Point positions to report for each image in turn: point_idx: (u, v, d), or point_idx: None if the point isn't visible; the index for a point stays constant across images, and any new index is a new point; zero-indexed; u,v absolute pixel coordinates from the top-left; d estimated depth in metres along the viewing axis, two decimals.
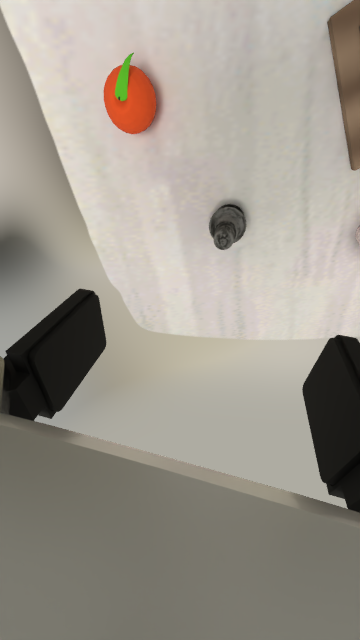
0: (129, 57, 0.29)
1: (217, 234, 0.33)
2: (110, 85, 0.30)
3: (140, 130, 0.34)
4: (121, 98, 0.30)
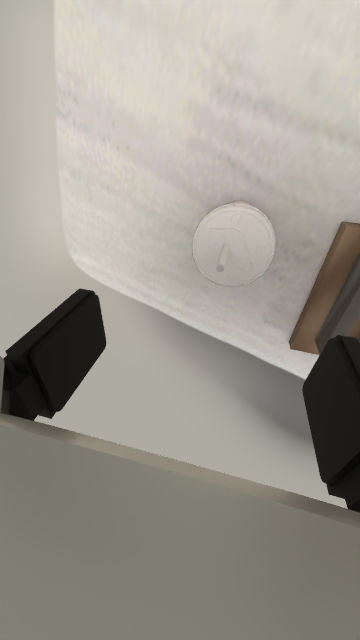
0: None
1: None
2: None
3: None
4: None
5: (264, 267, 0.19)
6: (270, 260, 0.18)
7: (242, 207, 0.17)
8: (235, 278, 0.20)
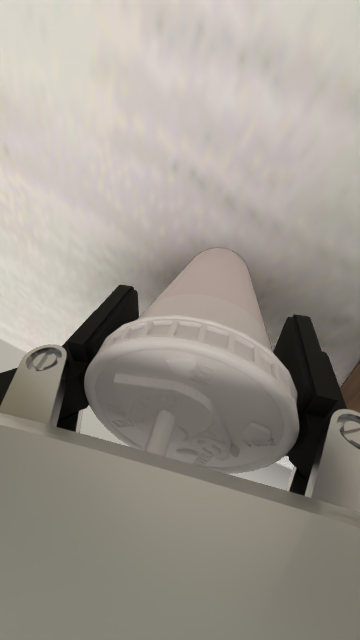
0: None
1: None
2: None
3: None
4: None
5: (267, 460, 0.07)
6: (284, 449, 0.07)
7: (198, 344, 0.05)
8: (197, 460, 0.08)
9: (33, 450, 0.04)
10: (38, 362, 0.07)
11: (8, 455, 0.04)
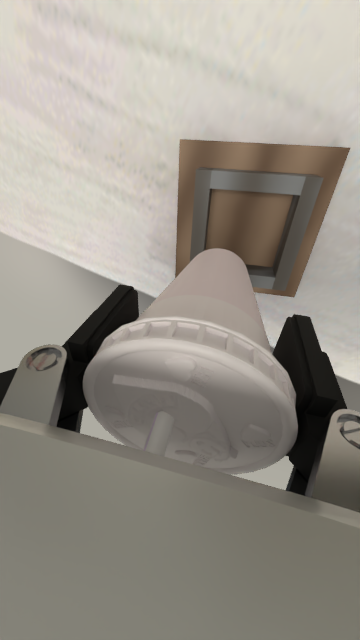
0: None
1: None
2: None
3: None
4: None
5: (266, 461, 0.07)
6: (283, 450, 0.07)
7: (196, 346, 0.05)
8: (197, 461, 0.08)
9: (33, 450, 0.04)
10: (38, 362, 0.07)
11: (8, 455, 0.04)
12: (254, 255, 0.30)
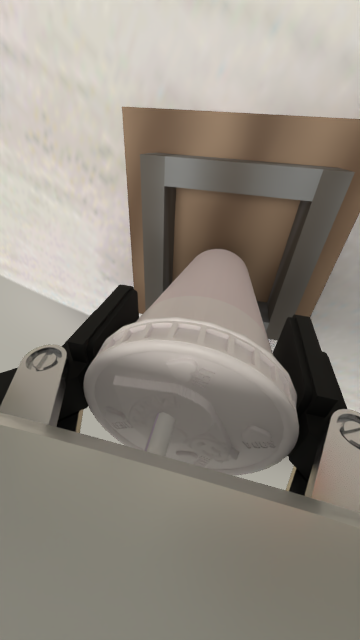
0: None
1: None
2: None
3: None
4: None
5: (267, 462, 0.07)
6: (284, 452, 0.07)
7: (197, 347, 0.05)
8: (198, 461, 0.08)
9: (33, 450, 0.04)
10: (38, 362, 0.07)
11: (8, 455, 0.04)
12: None
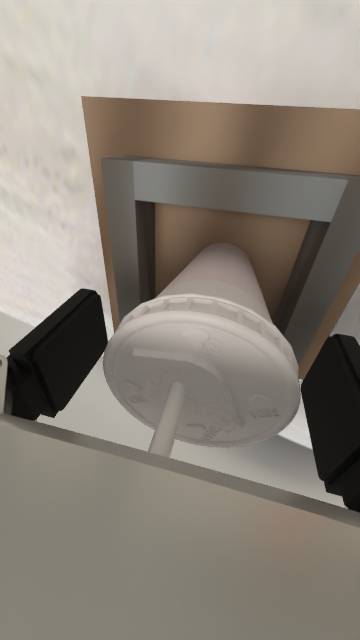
0: None
1: None
2: None
3: None
4: None
5: (271, 431, 0.08)
6: (286, 420, 0.08)
7: (211, 316, 0.06)
8: (206, 434, 0.09)
9: (33, 450, 0.04)
10: None
11: (8, 455, 0.04)
12: None
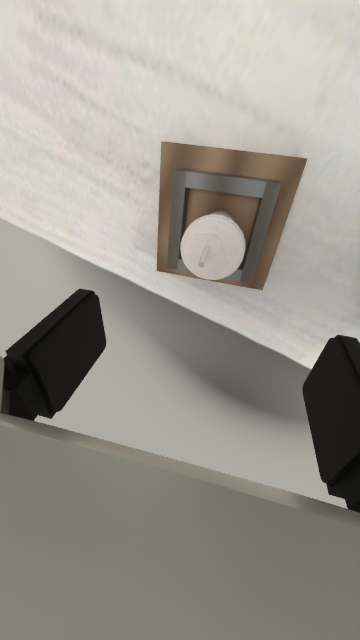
0: None
1: None
2: None
3: None
4: None
5: (236, 265, 0.24)
6: (241, 259, 0.24)
7: (219, 218, 0.22)
8: (214, 273, 0.25)
9: (33, 450, 0.04)
10: None
11: (8, 455, 0.04)
12: None
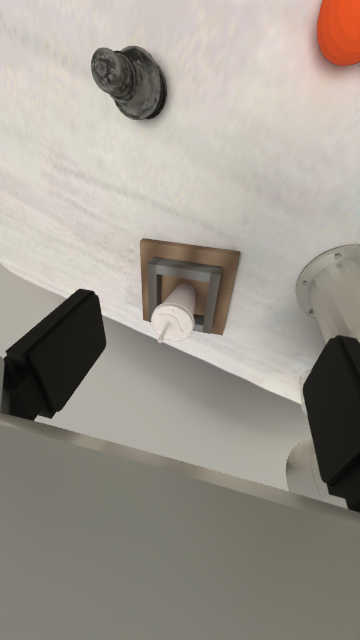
0: None
1: (116, 63, 0.21)
2: None
3: None
4: None
5: (189, 333, 0.35)
6: (192, 329, 0.35)
7: (173, 306, 0.33)
8: (175, 337, 0.36)
9: (33, 450, 0.04)
10: None
11: (8, 455, 0.04)
12: None
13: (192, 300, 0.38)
